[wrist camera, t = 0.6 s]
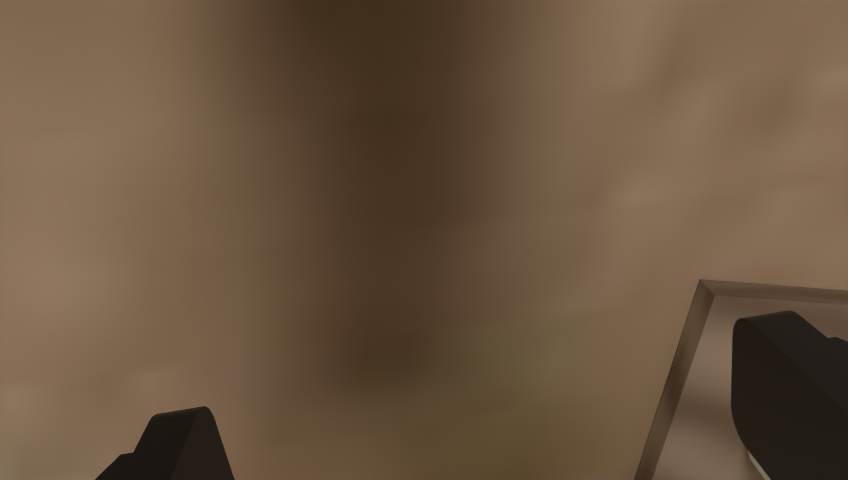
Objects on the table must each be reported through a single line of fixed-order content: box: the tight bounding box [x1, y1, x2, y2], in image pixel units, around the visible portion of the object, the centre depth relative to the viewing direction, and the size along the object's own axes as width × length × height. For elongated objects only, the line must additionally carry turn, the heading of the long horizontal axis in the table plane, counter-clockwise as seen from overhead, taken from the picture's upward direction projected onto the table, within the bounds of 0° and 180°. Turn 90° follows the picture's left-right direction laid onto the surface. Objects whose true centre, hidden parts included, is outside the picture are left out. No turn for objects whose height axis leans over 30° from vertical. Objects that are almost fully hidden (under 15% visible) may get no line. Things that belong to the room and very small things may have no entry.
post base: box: [635, 280, 848, 480], centre depth 32 cm, size 14×14×6 cm
